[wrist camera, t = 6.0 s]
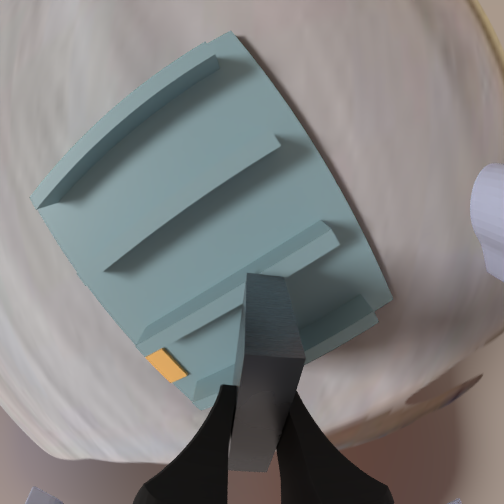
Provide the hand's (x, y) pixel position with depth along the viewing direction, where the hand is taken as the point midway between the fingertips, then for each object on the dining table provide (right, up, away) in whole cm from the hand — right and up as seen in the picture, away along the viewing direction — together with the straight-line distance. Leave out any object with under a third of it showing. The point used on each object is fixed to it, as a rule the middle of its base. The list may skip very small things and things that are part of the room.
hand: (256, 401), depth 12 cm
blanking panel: (0, +2, +5) cm, 5 cm away
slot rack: (-3, +7, +6) cm, 10 cm away
